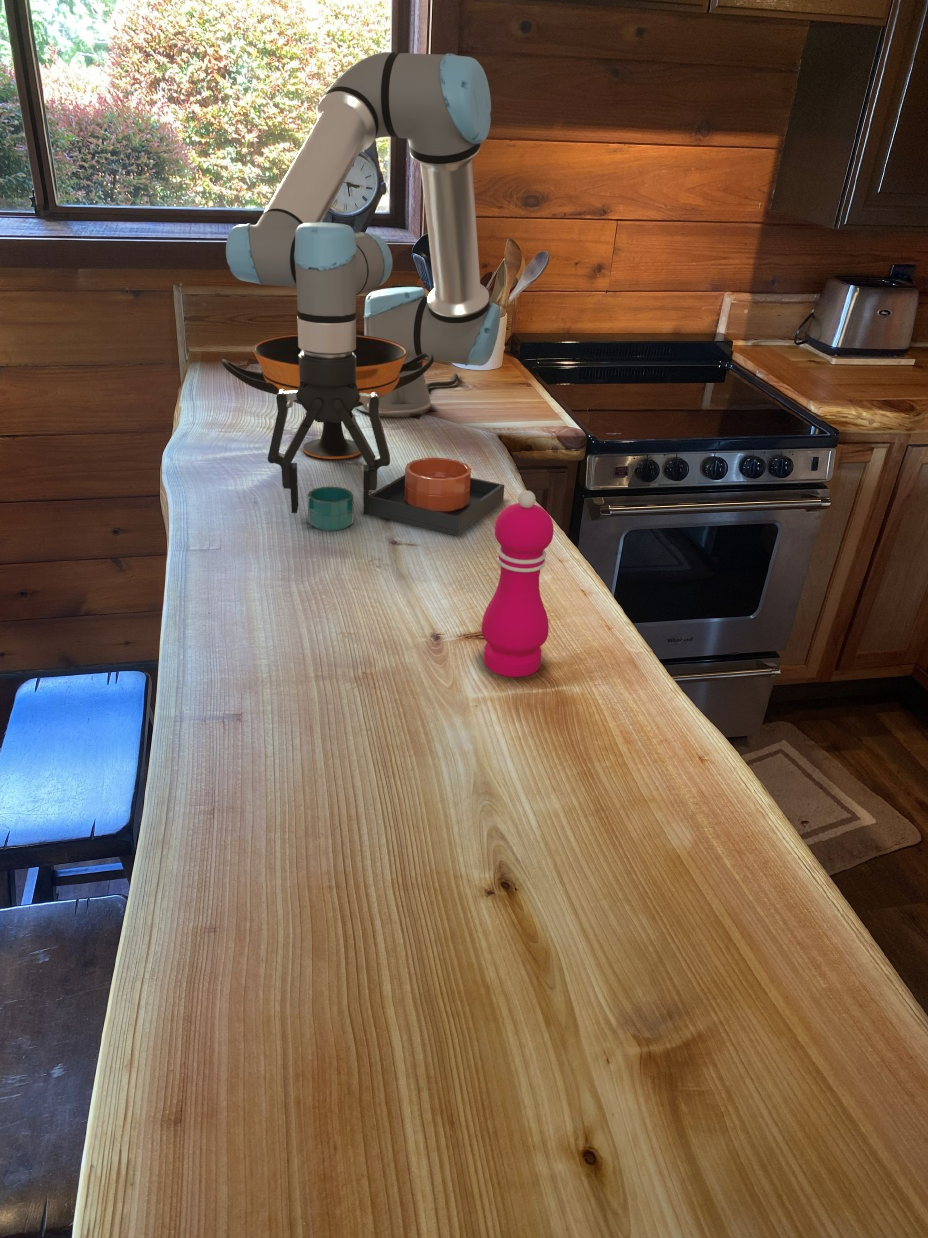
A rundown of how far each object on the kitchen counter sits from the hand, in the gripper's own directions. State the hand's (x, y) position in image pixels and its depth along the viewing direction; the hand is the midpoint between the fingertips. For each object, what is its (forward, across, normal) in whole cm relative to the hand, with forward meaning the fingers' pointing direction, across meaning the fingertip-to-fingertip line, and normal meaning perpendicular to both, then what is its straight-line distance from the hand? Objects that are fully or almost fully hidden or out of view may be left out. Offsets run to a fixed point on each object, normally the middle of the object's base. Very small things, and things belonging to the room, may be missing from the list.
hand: (330, 510), depth 129 cm
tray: (+2, -16, -7) cm, 17 cm away
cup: (+2, +2, -33) cm, 33 cm away
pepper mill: (+2, -22, +38) cm, 44 cm away
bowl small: (+2, 0, 0) cm, 2 cm away
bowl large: (+1, -16, -7) cm, 17 cm away
